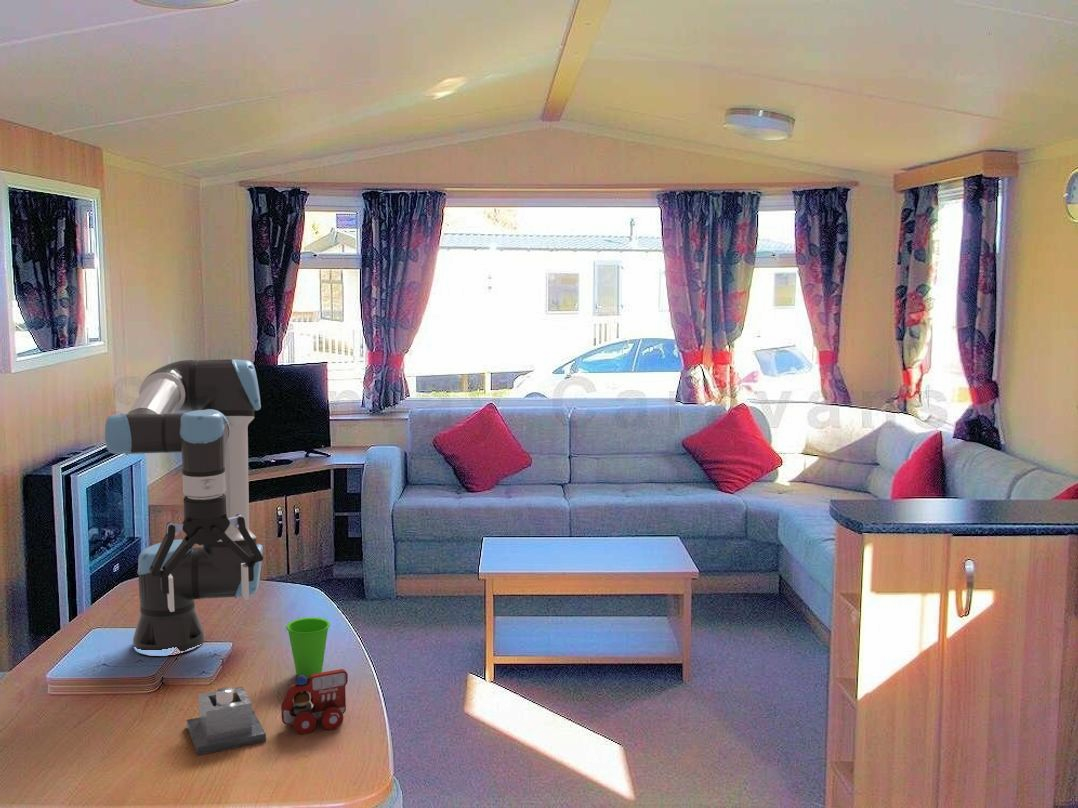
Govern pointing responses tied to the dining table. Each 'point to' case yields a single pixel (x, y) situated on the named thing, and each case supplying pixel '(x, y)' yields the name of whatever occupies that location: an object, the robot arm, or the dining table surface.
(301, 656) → the cup
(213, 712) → the grey block with hole
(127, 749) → the dining table surface
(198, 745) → the shaft stand
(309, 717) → the toy fire truck
